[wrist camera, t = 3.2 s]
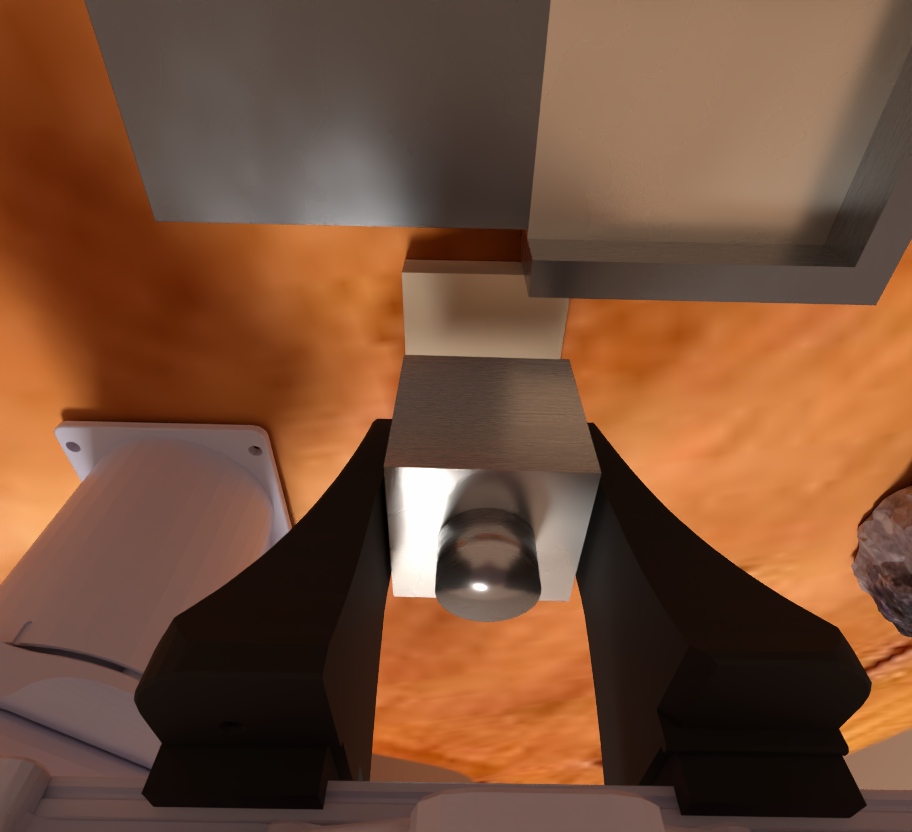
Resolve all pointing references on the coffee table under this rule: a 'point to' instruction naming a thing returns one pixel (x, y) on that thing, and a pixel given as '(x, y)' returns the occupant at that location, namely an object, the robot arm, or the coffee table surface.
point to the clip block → (488, 483)
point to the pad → (478, 311)
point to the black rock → (888, 558)
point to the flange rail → (543, 131)
